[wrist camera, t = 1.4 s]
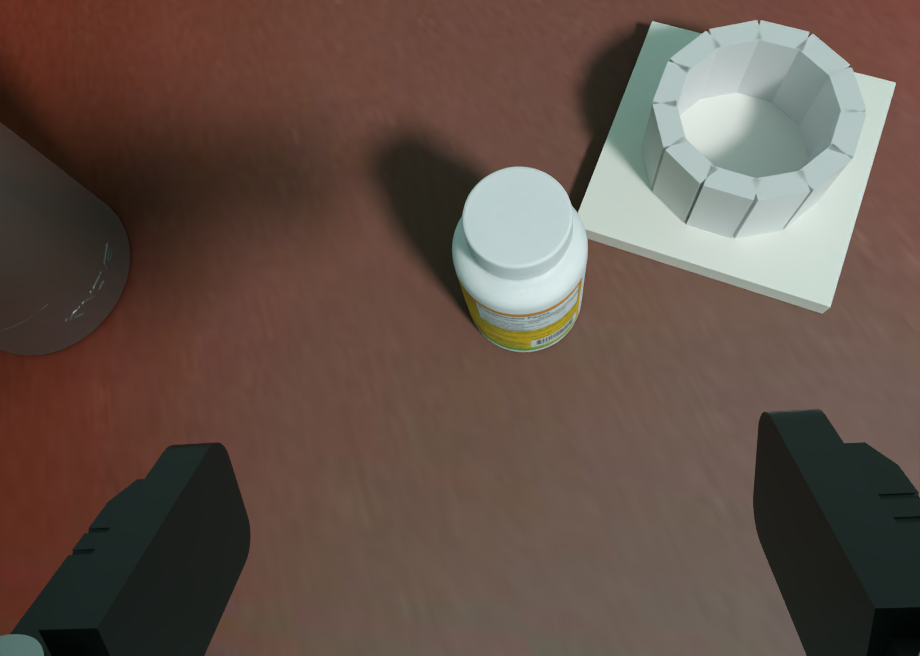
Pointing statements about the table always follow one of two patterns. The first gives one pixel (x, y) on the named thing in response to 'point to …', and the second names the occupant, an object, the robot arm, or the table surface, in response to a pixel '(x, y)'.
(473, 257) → the supplement bottle
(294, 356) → the table surface
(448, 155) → the table surface
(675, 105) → the sleeve holder
